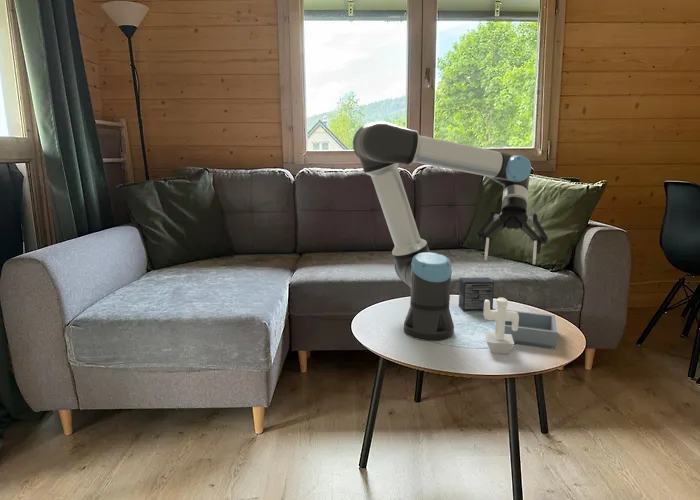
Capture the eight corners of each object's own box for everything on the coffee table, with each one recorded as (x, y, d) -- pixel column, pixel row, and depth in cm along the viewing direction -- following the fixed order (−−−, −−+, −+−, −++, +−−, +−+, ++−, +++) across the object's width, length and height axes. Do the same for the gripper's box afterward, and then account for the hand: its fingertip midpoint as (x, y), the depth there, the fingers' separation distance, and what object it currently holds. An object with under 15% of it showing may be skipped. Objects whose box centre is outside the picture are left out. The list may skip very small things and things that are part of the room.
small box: (486, 305, 179) (488, 276, 177) (493, 311, 173) (495, 281, 170) (457, 305, 178) (459, 276, 176) (462, 311, 172) (464, 281, 170)
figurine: (517, 357, 136) (522, 304, 132) (481, 354, 137) (485, 301, 134) (514, 346, 142) (518, 296, 139) (480, 343, 144) (483, 293, 141)
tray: (496, 341, 146) (497, 325, 145) (499, 324, 160) (500, 309, 159) (555, 349, 141) (557, 332, 140) (553, 330, 155) (554, 315, 154)
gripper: (556, 212, 157) (554, 270, 146) (474, 208, 165) (466, 263, 154) (558, 196, 151) (556, 256, 140) (473, 194, 159) (465, 249, 148)
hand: (509, 260), depth 147 cm, fingers open, 13 cm apart
